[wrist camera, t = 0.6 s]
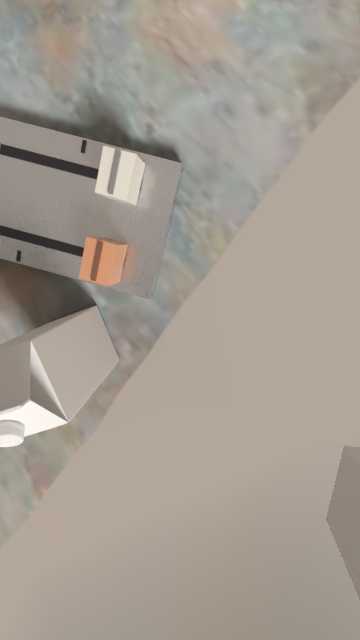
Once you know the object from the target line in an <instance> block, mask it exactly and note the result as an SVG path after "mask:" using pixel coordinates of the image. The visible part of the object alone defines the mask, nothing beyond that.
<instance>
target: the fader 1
mask: <svg viewBox="0 0 360 640" xmlns="http://www.w3.org/2000/svg"><path fill="white" fill-rule="evenodd" d="M144 168H145V163H144V162H143V161H142V160H141V159H140V158H139V157H138V155H137V154H135V153H131V152H127V151H123V150H119V149H115V148H111V147H107V146H104V145H103V150H102V155H101V161H100V166H99V171H98V177H97V182H96V188H95V193H97V194H99V195H102V196H104V197H106V198H109V199H113V200H117V201H120V202H124V203H128V204H132V205H137V200H138V195H139V191H140V186H141V181H142V177H143V172H144Z"/></svg>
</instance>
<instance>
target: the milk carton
mask: <svg viewBox="0 0 360 640" xmlns="http://www.w3.org/2000/svg"><path fill="white" fill-rule="evenodd" d="M118 362H119V357H118V355H117V353H116V350H115V348H114V345H113V343H112V341H111V338H110V336H109V333H108V331H107V329H106V326H105V324H104V321H103V319H102V317H101V314H100V312H99V309H98V307H97V306H93V307H90V308H87V309H84V310H82V311H79V312H76V313H74V314H71V315H68V316H65V317H63V318H60V319H57V320H55V321H52V322H49V323H47V324H44V325H42V326H40V327H38V328H36V329H34V330H32V331H29V332H27V333H25V334H23V335H21V336H19V337H17V338H14V339H12V340H10V341H8V342H6V343H4V344H2V345H0V447H12V446H16V445H19V444H21V443H22V442H23V440H24V437H25V436H28V435H31V434H35V433H38V432H41V431H44V430H47V429H51V428H54V427H57V426H60V425H63V424H66V423H68V422H69V421H70V420H71V419H72V418H73V417H74V415H75V414H76V413H77V412H78V411H79V409H80V408H81V407H82V406H83V404H84V403H85V402H86V401H87V400H88V398H89V397H90V396H91V395H92V393H93V392H94V391H95V390H96V389H97V387H98V386H99V385H100V384H101V382H102V381H103V380H104V379H105V378H106V376H107V375H108V374H109V373H110V371H111V370H112V369H113V368H114V367H115V365H116V364H117V363H118Z"/></svg>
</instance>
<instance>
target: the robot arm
mask: <svg viewBox="0 0 360 640" xmlns="http://www.w3.org/2000/svg"><path fill="white" fill-rule="evenodd" d="M326 520H327V522H328V525H329V527H330V529H331V532H332V534H333V536H334V539H335V541H336V544H337V546H338V548H339V551H340V553H341V556H342V558H343V560H344V563H345V565H346V568H347V570H348V572H349V574H350V577H351V579H352V582H353V584H354V587H355V589H356V591H357V594H358V596H359V598H360V448H357V447H350V446H344V448H343V452H342V456H341V460H340V464H339V468H338V473H337V477H336V481H335V485H334V489H333V494H332V498H331V501H330V506H329V510H328V514H327V518H326Z"/></svg>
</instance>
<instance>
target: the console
mask: <svg viewBox="0 0 360 640" xmlns="http://www.w3.org/2000/svg"><path fill="white" fill-rule="evenodd" d="M103 145H104V146H107V147H111V148H115V149H119V150H123V151H127V152H131V153H135V154H137V155H138V157H139V158H140V159H141V160H142V161H143V162H144V163H145V168H144V172H143V177H142V181H141V186H140V191H139V195H138V200H137V205H132V204H128V203H124V202H120V201H117V200H113V199H109V198H106V197H104V196H102V195H99V194H97V193H95V188H96V182H97V177H98V171H99V166H100V161H101V155H102V150H103ZM183 170H184V166H183V164H182V163H180V162H176V161H172V160H168V159H164V158H160V157H156V156H152V155H148V154H145V153H141V152H137V151H133V150H129V149H125V148H121V147H117V146H113V145H109V144H106V143H102V142H98V141H94V140H90V139H86V138H82V137H78V136H74V135H70V134H67V133H63V132H59V131H55V130H51V129H47V128H43V127H39V126H35V125H31V124H28V123H24V122H20V121H16V120H12V119H8V118H4V117H0V258H1V259H4V260H8V261H12V262H15V263H19V264H23V265H26V266H30V267H34V268H37V269H41V270H45V271H48V272H52V273H56V274H59V275H63V276H67V277H70V278H74V279H78V280H81V281H85V282H89V283H92V284H96V285H99V286H103V287H107V288H110V289H114V290H118V291H121V292H125V293H129V294H132V295H136V296H140V297H143V298H147V299H151V298H152V297H153V294H154V290H155V286H156V282H157V277H158V273H159V269H160V265H161V261H162V257H163V253H164V248H165V244H166V240H167V236H168V232H169V228H170V224H171V220H172V215H173V211H174V207H175V203H176V199H177V195H178V191H179V186H180V182H181V178H182V174H183ZM86 237H100V238H104V239H108V240H112V241H115V242H119V243H123V244H127V245H128V246H127V251H126V256H125V260H124V265H123V269H122V274H121V279H120V282H119V283H116V284H114V285H111V286H105V285H101V284H98V283H94V282H90V281H87V280H83V279H79V273H80V268H81V262H82V257H83V252H84V246H85V241H86Z"/></svg>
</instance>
